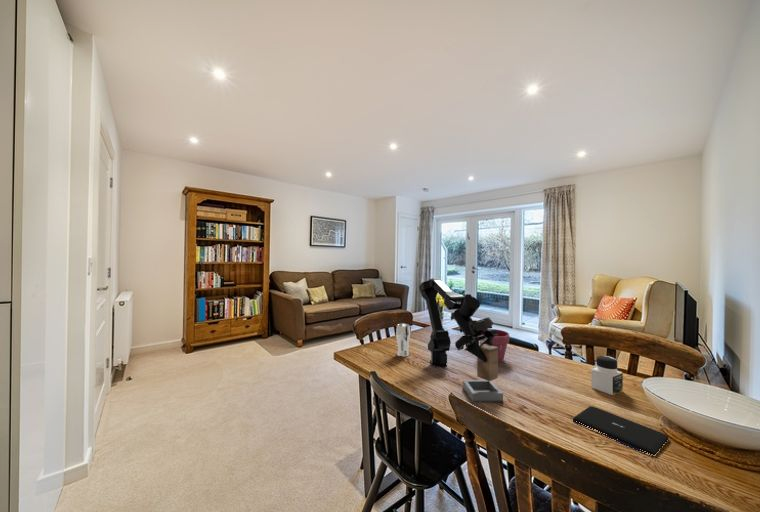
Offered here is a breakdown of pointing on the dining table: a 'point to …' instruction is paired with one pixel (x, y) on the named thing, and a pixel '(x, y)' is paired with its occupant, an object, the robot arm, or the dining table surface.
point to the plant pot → (500, 343)
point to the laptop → (622, 430)
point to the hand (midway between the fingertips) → (490, 360)
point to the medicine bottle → (607, 376)
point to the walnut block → (488, 363)
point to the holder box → (482, 391)
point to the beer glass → (403, 339)
